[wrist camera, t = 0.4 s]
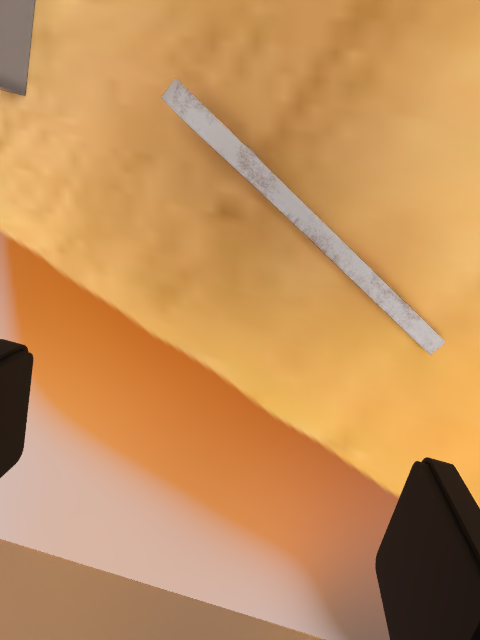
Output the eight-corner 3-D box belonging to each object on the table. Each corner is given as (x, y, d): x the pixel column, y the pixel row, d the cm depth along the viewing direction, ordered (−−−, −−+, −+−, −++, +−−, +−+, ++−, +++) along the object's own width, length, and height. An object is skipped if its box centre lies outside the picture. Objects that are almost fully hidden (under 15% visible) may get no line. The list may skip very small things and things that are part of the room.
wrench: (413, 336, 43) (175, 107, 37) (428, 323, 42) (189, 89, 36) (446, 373, 35) (152, 93, 29) (465, 358, 34) (170, 69, 29)
